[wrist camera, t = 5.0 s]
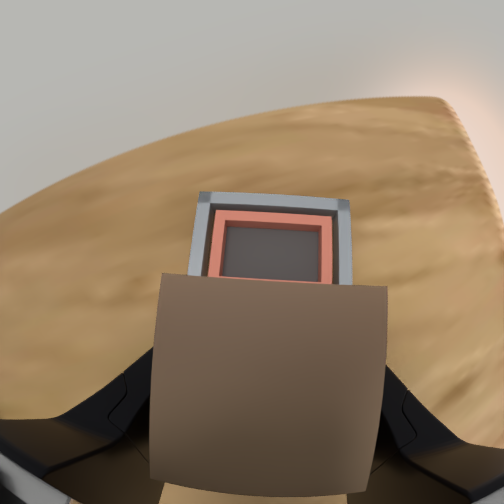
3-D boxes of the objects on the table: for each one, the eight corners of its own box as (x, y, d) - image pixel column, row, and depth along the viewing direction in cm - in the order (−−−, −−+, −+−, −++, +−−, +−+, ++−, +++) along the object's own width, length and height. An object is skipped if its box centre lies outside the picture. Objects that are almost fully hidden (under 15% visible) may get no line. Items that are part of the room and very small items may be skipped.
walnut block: (302, 398, 14) (365, 491, 4) (222, 393, 15) (150, 478, 4) (307, 321, 16) (387, 286, 5) (228, 316, 16) (162, 272, 6)
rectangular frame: (326, 297, 22) (331, 293, 20) (211, 290, 22) (207, 286, 21) (326, 225, 24) (331, 216, 22) (219, 219, 24) (216, 209, 22)
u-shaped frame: (335, 426, 19) (341, 434, 17) (182, 416, 19) (175, 423, 18) (343, 210, 24) (349, 200, 22) (204, 202, 25) (199, 191, 23)
